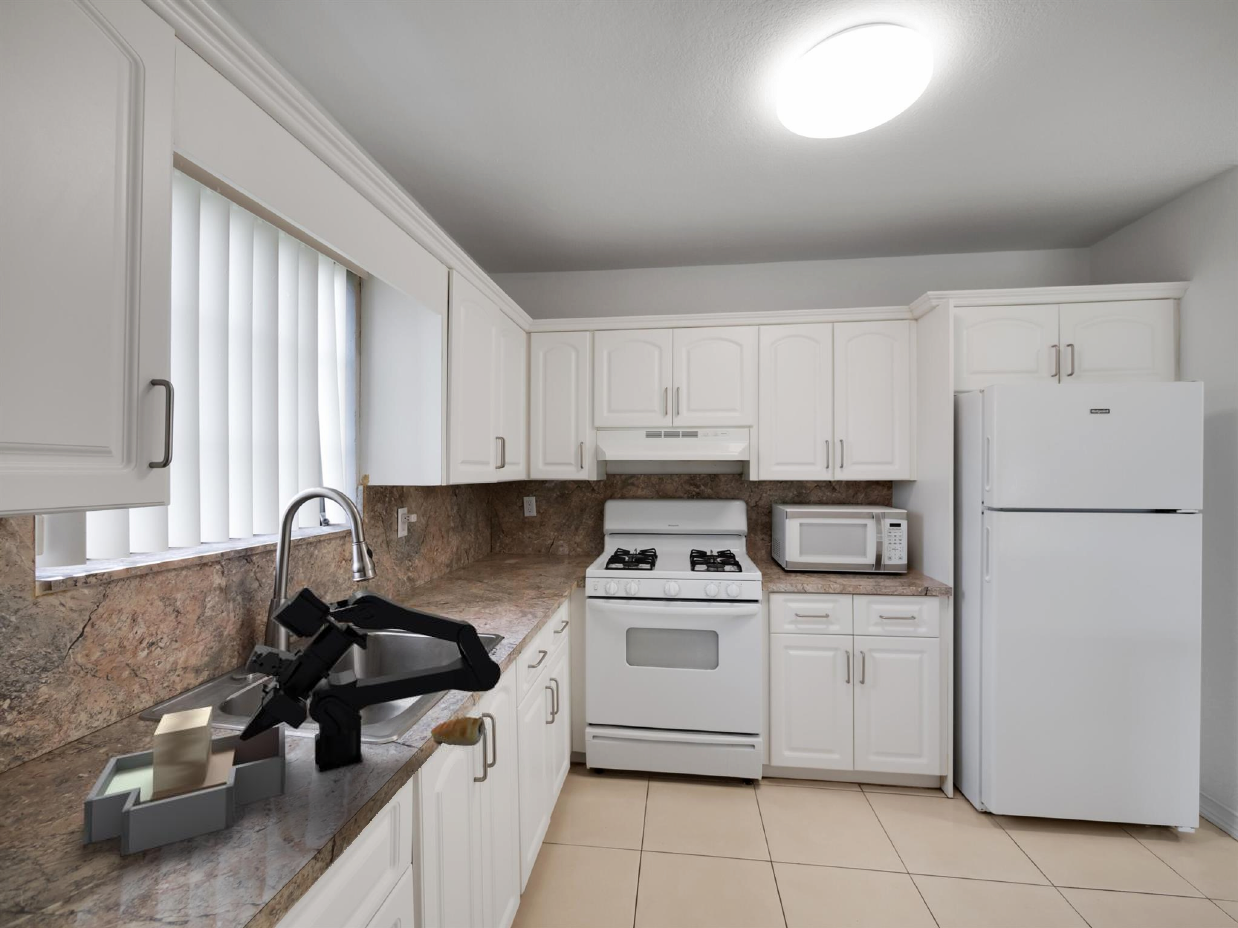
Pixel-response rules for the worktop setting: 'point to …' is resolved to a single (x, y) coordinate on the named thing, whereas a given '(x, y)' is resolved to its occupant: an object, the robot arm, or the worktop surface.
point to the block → (182, 748)
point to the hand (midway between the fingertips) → (241, 738)
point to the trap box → (183, 793)
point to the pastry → (460, 731)
